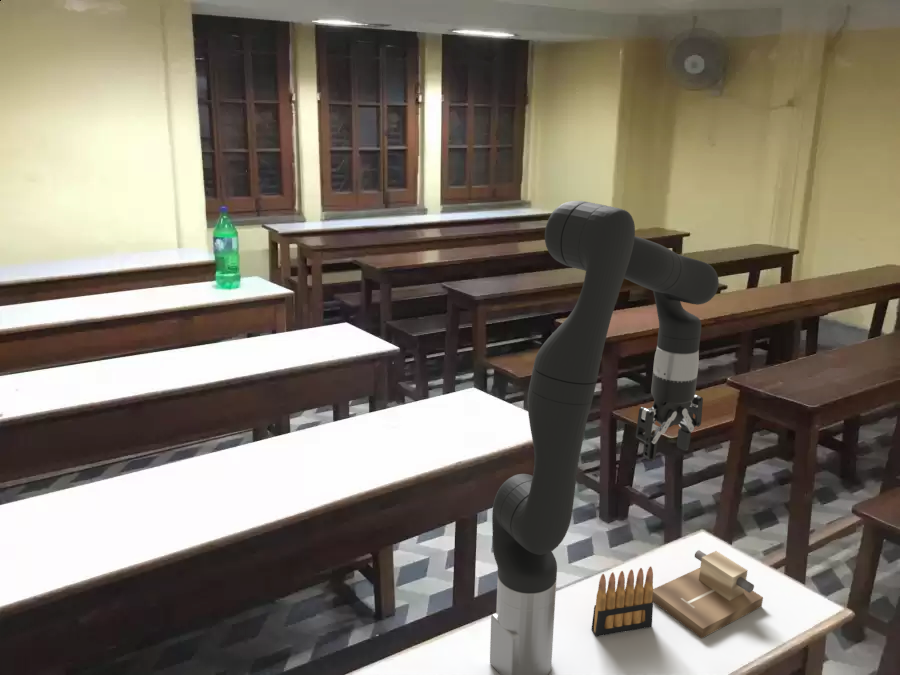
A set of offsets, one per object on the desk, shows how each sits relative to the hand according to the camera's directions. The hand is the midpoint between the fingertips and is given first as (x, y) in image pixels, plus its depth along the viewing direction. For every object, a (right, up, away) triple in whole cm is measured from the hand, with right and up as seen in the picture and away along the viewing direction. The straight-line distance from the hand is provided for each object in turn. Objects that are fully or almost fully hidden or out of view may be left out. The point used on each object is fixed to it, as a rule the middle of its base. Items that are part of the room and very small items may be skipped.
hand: (666, 454), depth 135 cm
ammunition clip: (-10, -30, -6) cm, 32 cm away
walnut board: (+7, -27, 0) cm, 28 cm away
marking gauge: (+11, -25, +2) cm, 27 cm away
